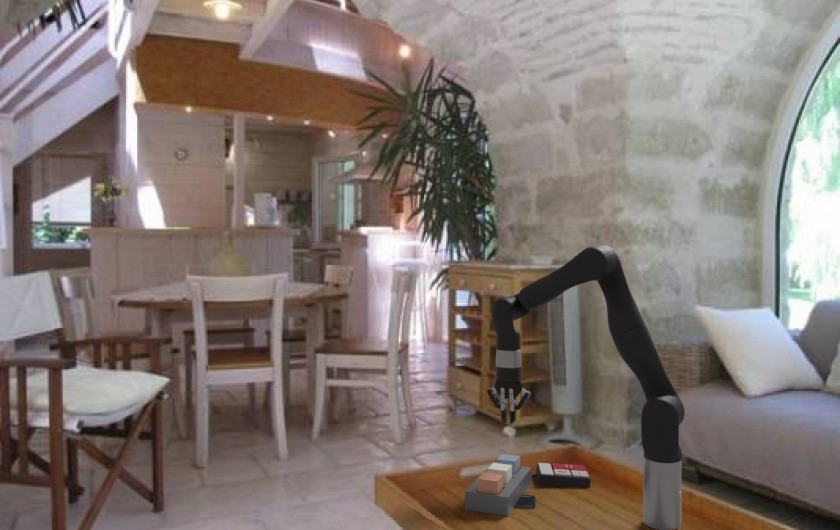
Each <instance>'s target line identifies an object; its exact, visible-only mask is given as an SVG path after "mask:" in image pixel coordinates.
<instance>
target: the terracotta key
mask: <svg viewBox="0 0 840 530" xmlns="http://www.w3.org/2000/svg"><path fill="white" fill-rule="evenodd" d="M483 472H484V471H483ZM483 472H482V473H481V474H480V476H478V477H477V479H478V492H481V493H488V494H495V495H499V494H500V492H501V491H502V490H503V475H500V474H493V473H485V472H484V473H483Z"/></svg>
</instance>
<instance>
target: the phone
mask: <svg viewBox="0 0 840 530" xmlns="http://www.w3.org/2000/svg"><path fill="white" fill-rule="evenodd" d="M536 503H537V500H536V496H535V495H530V494H529V495H528V494H524V495H522V496H521V497H520V499H519V500H518V501H517V503H516V504H515V507H521V508H520V509H530V508H531V509H536Z"/></svg>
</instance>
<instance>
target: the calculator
mask: <svg viewBox="0 0 840 530" xmlns="http://www.w3.org/2000/svg"><path fill="white" fill-rule="evenodd" d="M535 468H536V469H535V475H536V479H537V484H538V486H539V487H565V488H568V487H569V488H570V487H571V488H591V481H592V480H591V476H590V474H589V472H588V470H587V468H586V466H585V465H583V464H568V463H555V462H552V463H545V462H538V463H536V467H535Z"/></svg>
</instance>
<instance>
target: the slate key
mask: <svg viewBox="0 0 840 530" xmlns="http://www.w3.org/2000/svg"><path fill="white" fill-rule="evenodd" d="M496 463H500V464H508V465H512V474H516V473H517V472H518V471H519V470H520V466H521V455H515V454H506V453H505V454H504V453H501V454H500V455H499V456H498V458H496Z"/></svg>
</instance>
